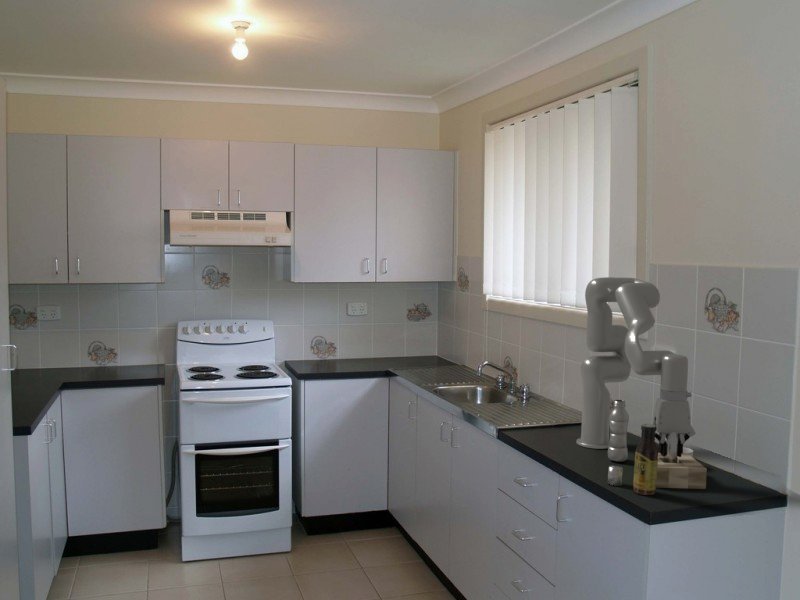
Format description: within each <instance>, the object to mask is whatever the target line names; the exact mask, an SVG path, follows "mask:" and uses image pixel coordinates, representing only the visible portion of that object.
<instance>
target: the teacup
mask: <svg viewBox="0 0 800 600" xmlns="http://www.w3.org/2000/svg"><path fill="white" fill-rule="evenodd" d="M682 454H689V455H690V456H691V457H693V458H694V450H693V449H691V448H689V447H684V446H683V453H682Z"/></svg>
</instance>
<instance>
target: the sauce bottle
mask: <svg viewBox="0 0 800 600" xmlns="http://www.w3.org/2000/svg"><path fill="white" fill-rule="evenodd" d="M640 429H641V436H640V440H639V442H638V445H637V447H636V450H635V454H634V469H633V482H632V483H633V484H632V485H633V491H634V493H636V494H639V495H641V496H652V495H653V496H654V495H655V493H656V489H657V488H656V480H657V466H658V453H659V447H658V446H657V444H656V438H655V432H657V430H656V426H655V425H653V423H642V424H641V426H640Z"/></svg>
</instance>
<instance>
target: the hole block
mask: <svg viewBox="0 0 800 600" xmlns="http://www.w3.org/2000/svg"><path fill="white" fill-rule="evenodd" d="M663 460H664V457H663V456H662V455H661V454H660V453H659V452H658V466H657V480H656V489H657V488H659V489H661V488H663V489H664V488H665V489H693V490H694V489H695V490H696V489H698V490H706V489H707V471H708V470H707V469H708V468H707V467H705V466H704V465H702V463H700V462H699V461H697V460H696V459H695V457H694V456H693V457H691V456H690V455H689V454H681V457H678V461H677V463H664V462H663Z"/></svg>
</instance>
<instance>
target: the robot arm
mask: <svg viewBox="0 0 800 600" xmlns="http://www.w3.org/2000/svg"><path fill="white" fill-rule="evenodd" d="M584 298H585V304H586V305H585V306H586V310H587V311H586V312H587V316H586V317H587V318H586V319H587V320H586V346H587V349H588V350H589V351H590V352H594V353H612V355H593V356H591V355H590V356H588V357H586V358H584V360H582V362H581V363H580V364H581V365H580V375H581V381H582V403H581V404H582V407H581V428H580V429H581V433H580V437H579V438H577V439H576V444H577V445H578V446H580V447H583V448H587V449H595V450H596V449H597V450H598V449H599V450H606V449H607V450H608V447H609V441H610V421H609V415H610V413H611V393H610V391H609V390H608V387H607V386H606V384H609V383H611V384H612V383H622V382H625V381H627V380H628V379H629V378H630V375H631V370H633V372H635V374H637V375H638V376H660V387H659V389H660V392H659V398H657V399H656V402H655V407H654V412H653V420H652V424H653V425H655V426H656V431H655V440H656V439H657V441H658V453H660V454H661V455H662V456H663V457H665V456H666V444H665V438H666V434H669V433H672V432H676V433H677V434H679V439H678V457H681V454H682V453H683V447H684V444H685V443H686V441H688V440H689V439H690V438H692V437H693V436H695V435H696V431H695V428H694V427H693V426H692V425H691V422H692V421H691V420H692V419H691V411H690V410H691V409H690V404H689V403H690V402H689V400H688V398H690V397H692V392H689V391H688V378H689V377H688V375H689V374H688V372H689V371H688V370H689V359H688V358H687V356H685V355H683V354H677V353H674V351H670V350H643V348H642V346H641V343H640V341H639V336H640V335H642V334H644V333H647V332H648V331H650V330H651V329H652V328H653V327H654V325H655V323H656V322H655V321H656V320H655V317H654V315H653V313H652V311H651V309H653V308H655V307H657V306H658V305H659V303H660V300H661V294H660V291H659V289H658V288H657V285H655V284H653V283H652V282H649V281H645V280H642V279H638V278H633V277H614V276H613V277H609V276H608V277H606V276H605V277H596V278H594V279H591V280H590V281H589V282H588V284H587V285H586V288H585V292H584ZM608 303H617V304H618V307H619V310H620V312H621V314H622V316H623V319H624V321H625V323H626V326H625V325H622V324H613V312H612V308H611V307H610V305H609V304H608Z"/></svg>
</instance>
